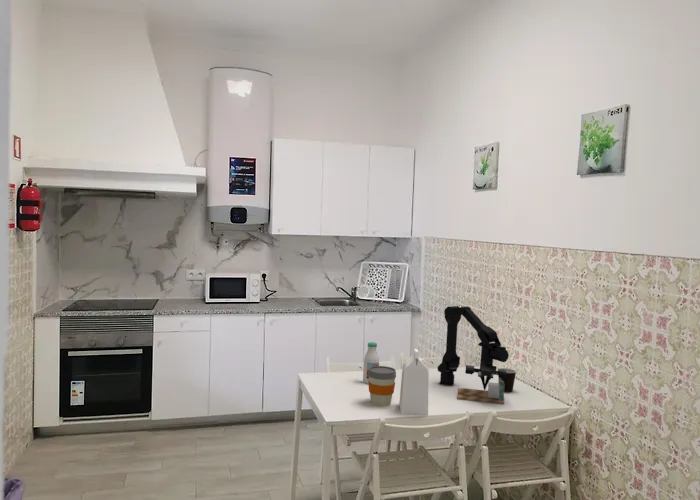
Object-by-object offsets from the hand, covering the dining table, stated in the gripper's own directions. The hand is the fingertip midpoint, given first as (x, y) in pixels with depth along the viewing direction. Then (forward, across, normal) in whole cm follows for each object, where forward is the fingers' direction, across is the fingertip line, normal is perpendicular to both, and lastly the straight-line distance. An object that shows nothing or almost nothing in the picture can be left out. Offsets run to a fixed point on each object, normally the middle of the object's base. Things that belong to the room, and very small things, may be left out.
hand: (484, 389), depth 265 cm
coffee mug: (+4, +11, +18) cm, 21 cm away
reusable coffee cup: (+5, -45, -23) cm, 51 cm away
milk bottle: (+6, -55, +6) cm, 56 cm away
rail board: (+4, -2, 0) cm, 4 cm away
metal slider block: (+3, +4, 0) cm, 5 cm away
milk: (+5, -30, -27) cm, 41 cm away
